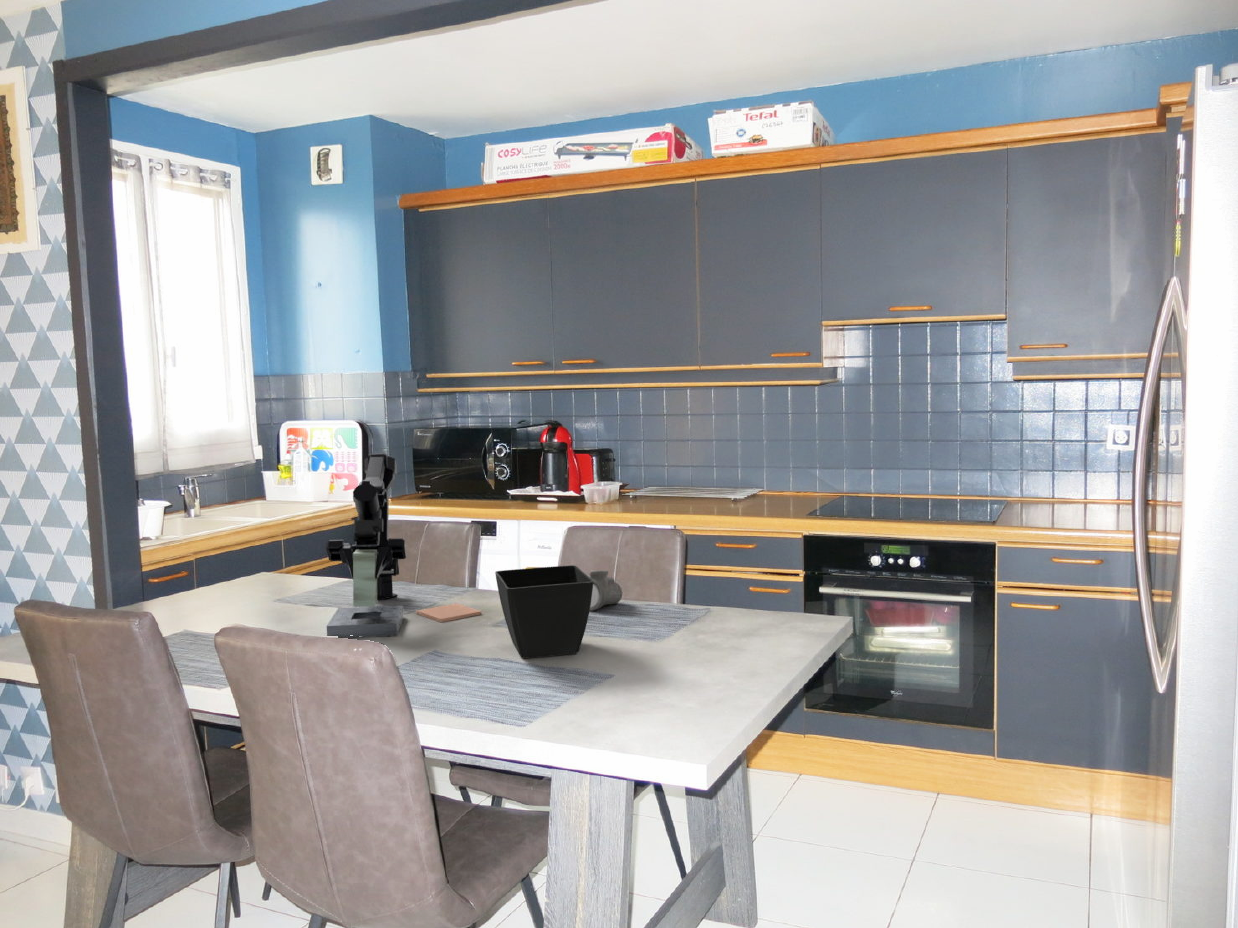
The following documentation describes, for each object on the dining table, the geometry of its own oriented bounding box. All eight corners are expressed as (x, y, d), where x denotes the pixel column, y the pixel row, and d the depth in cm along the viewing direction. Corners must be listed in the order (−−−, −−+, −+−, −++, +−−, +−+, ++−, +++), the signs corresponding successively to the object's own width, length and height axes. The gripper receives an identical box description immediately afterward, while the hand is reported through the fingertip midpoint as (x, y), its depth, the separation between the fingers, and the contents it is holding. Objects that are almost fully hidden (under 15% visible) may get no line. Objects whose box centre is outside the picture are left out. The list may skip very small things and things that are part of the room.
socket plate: (338, 619, 245) (338, 608, 245) (403, 617, 247) (403, 605, 247) (327, 638, 228) (326, 625, 227) (396, 635, 230) (396, 623, 229)
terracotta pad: (416, 613, 251) (416, 610, 251) (456, 606, 259) (456, 603, 259) (441, 622, 242) (441, 619, 242) (481, 614, 250) (481, 611, 250)
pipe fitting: (599, 611, 250) (599, 571, 250) (575, 610, 255) (575, 570, 255) (628, 608, 259) (627, 569, 260) (604, 606, 264) (604, 568, 265)
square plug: (356, 601, 239) (356, 549, 238) (377, 601, 240) (377, 549, 239) (353, 606, 234) (353, 553, 233) (374, 606, 235) (374, 553, 234)
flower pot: (508, 664, 206) (507, 586, 204) (495, 641, 224) (494, 569, 222) (595, 657, 211) (595, 581, 209) (576, 635, 229) (575, 564, 227)
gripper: (326, 507, 238) (319, 560, 228) (404, 505, 240) (401, 558, 230) (332, 534, 246) (326, 586, 236) (407, 532, 248) (405, 583, 239)
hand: (364, 578), depth 235 cm, fingers closed on square plug, 5 cm apart
